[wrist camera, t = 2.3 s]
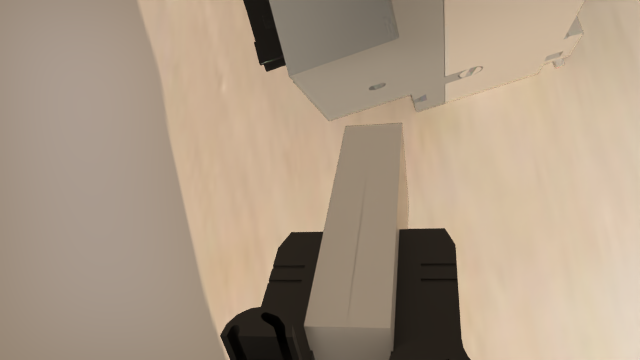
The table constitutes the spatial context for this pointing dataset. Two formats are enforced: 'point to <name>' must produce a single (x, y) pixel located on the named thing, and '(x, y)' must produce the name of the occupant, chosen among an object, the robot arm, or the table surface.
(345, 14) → the circuit breaker
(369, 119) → the table surface
